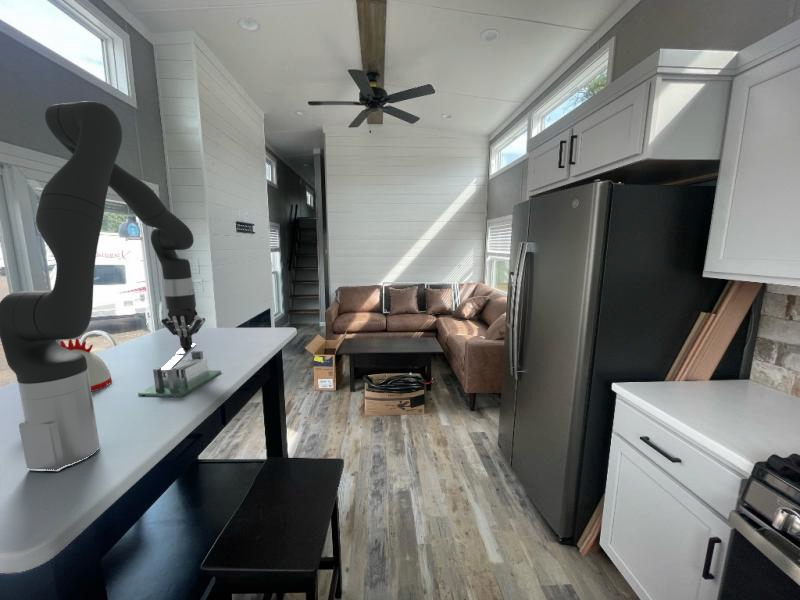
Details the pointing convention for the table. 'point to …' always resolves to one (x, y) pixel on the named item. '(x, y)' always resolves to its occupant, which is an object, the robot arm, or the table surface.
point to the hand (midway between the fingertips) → (187, 347)
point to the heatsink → (181, 377)
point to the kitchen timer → (91, 364)
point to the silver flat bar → (177, 358)
